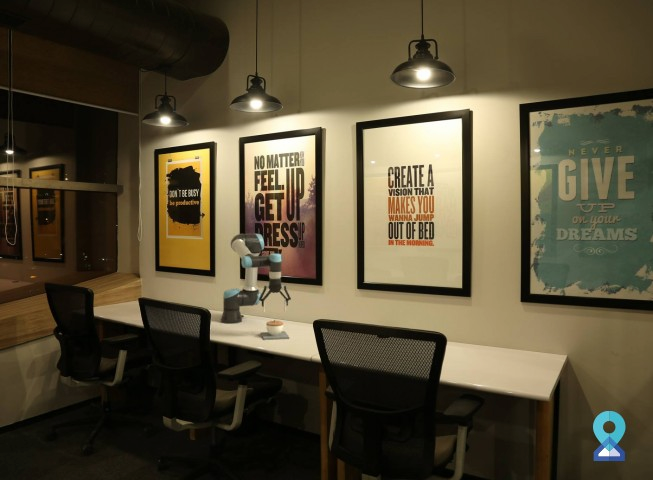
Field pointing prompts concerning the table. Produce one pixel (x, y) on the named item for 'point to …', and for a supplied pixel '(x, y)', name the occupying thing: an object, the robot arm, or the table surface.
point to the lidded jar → (274, 327)
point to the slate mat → (268, 337)
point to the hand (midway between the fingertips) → (274, 311)
